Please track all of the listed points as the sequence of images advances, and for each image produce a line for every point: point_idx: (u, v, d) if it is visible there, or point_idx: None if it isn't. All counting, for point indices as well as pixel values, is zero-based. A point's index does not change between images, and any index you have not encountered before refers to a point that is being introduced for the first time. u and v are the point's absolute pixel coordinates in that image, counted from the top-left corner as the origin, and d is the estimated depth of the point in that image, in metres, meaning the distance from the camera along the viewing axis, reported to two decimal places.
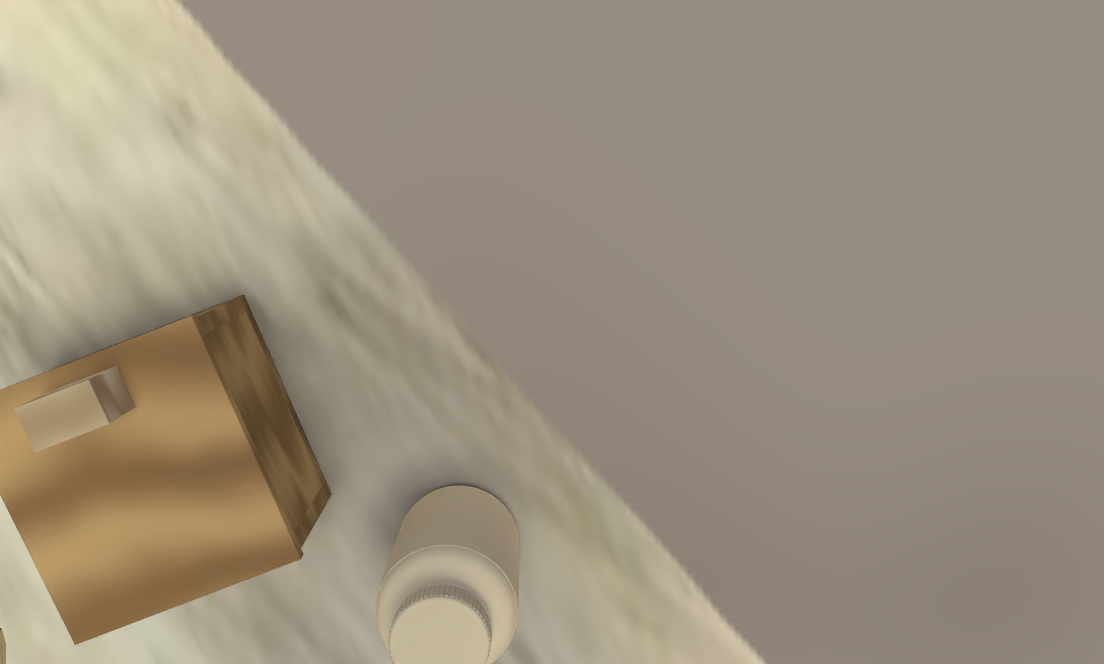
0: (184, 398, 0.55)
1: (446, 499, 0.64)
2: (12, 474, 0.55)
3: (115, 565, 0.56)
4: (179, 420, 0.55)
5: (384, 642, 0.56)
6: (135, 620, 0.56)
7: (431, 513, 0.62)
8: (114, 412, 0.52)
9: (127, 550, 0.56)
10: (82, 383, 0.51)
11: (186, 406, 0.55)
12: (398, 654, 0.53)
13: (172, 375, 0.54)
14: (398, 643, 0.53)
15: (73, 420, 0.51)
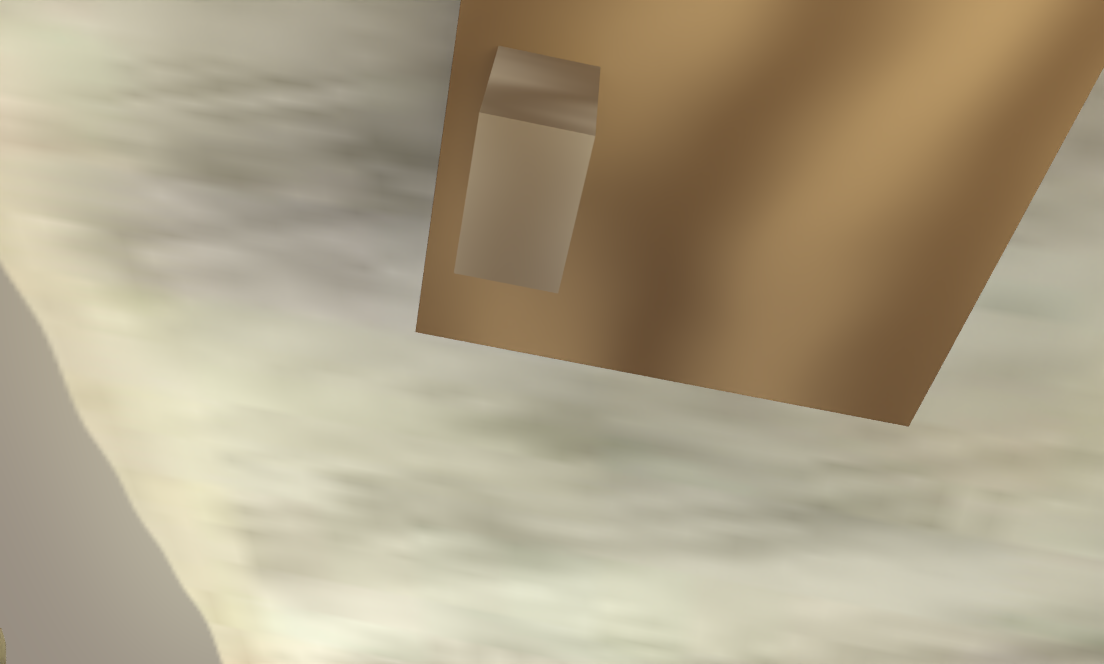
0: None
1: None
2: (576, 331, 0.28)
3: (844, 293, 0.27)
4: (685, 5, 0.23)
5: None
6: (959, 327, 0.27)
7: None
8: (580, 111, 0.22)
9: (838, 259, 0.26)
10: (480, 128, 0.21)
11: None
12: None
13: None
14: None
15: (543, 194, 0.22)
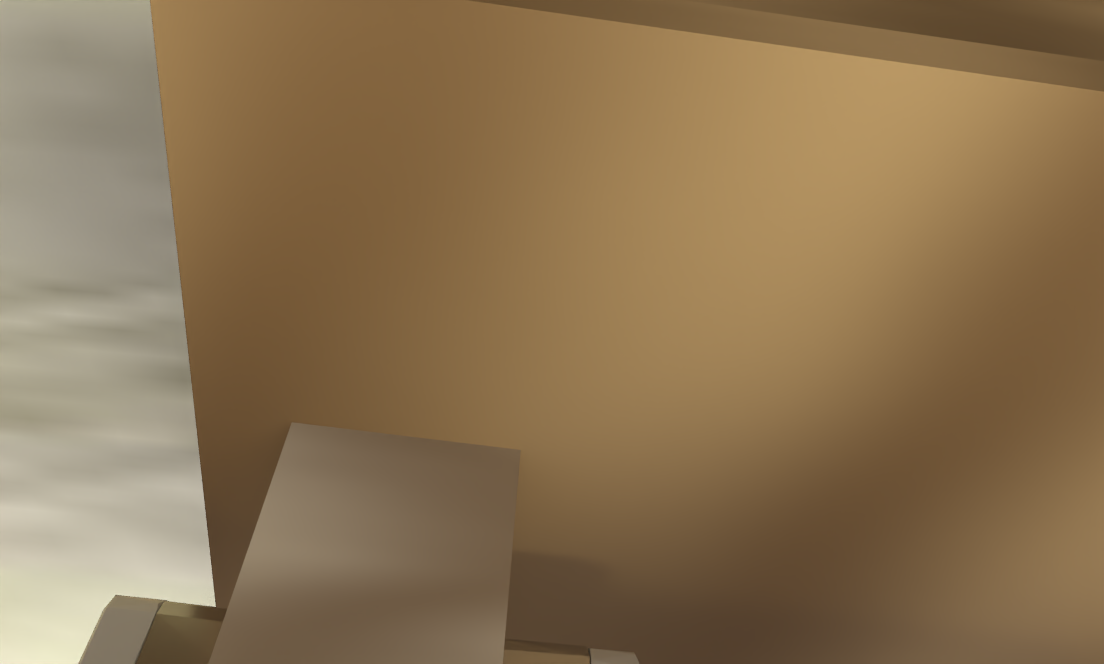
0: (609, 256, 0.09)
1: None
2: None
3: None
4: (700, 335, 0.10)
5: None
6: None
7: None
8: (462, 656, 0.09)
9: None
10: None
11: (657, 269, 0.09)
12: None
13: (456, 242, 0.09)
14: None
15: None
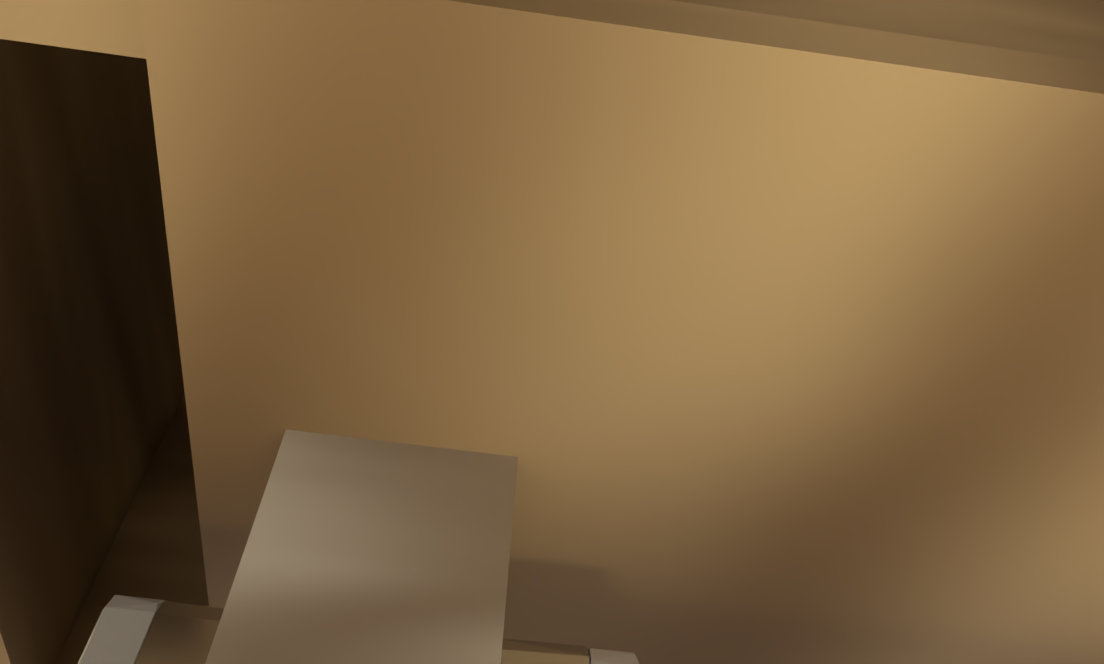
0: (607, 261, 0.09)
1: None
2: None
3: None
4: (700, 340, 0.10)
5: None
6: None
7: None
8: None
9: None
10: None
11: (655, 275, 0.09)
12: None
13: (452, 248, 0.09)
14: None
15: None
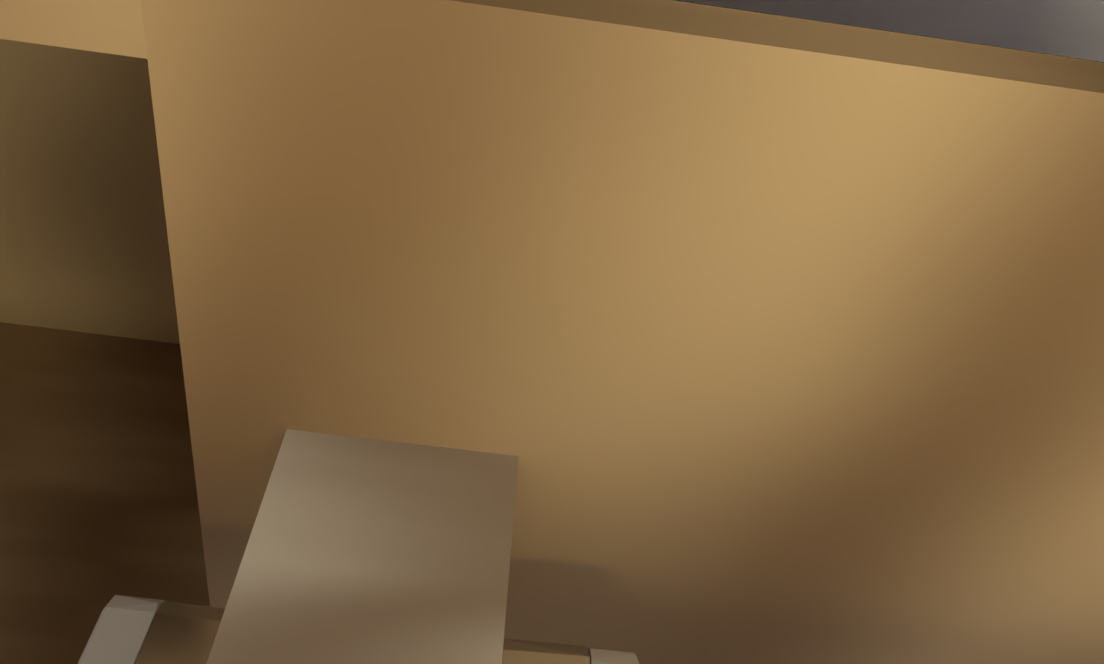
0: (607, 260, 0.09)
1: None
2: None
3: None
4: (700, 339, 0.10)
5: None
6: None
7: None
8: None
9: None
10: None
11: (655, 274, 0.09)
12: None
13: (453, 247, 0.09)
14: None
15: None
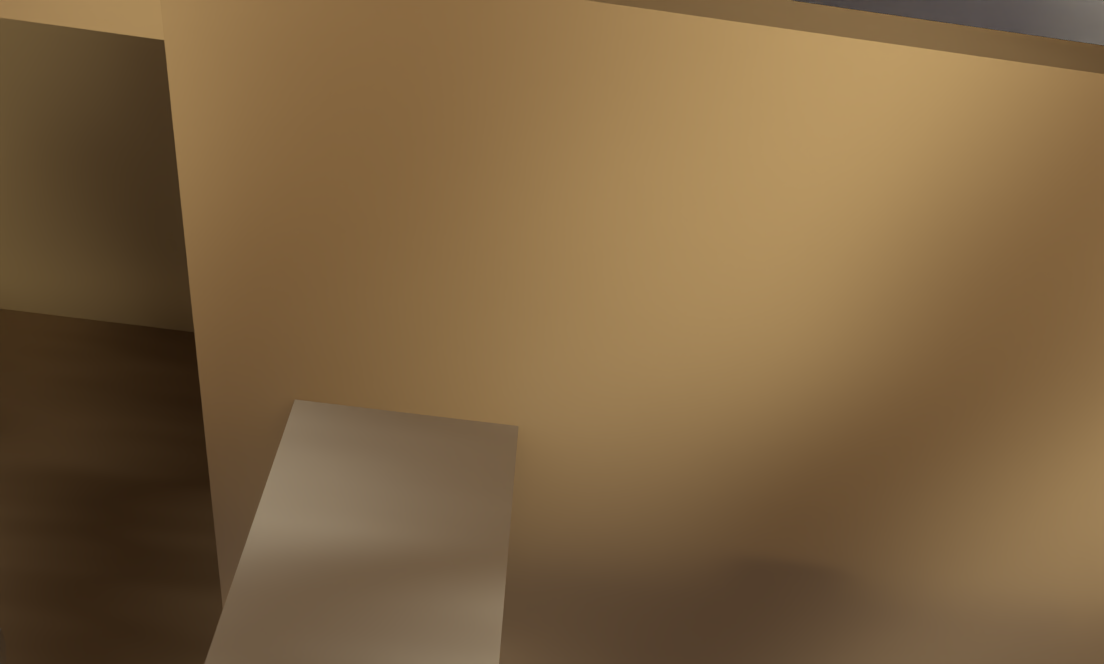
0: (603, 234, 0.10)
1: None
2: None
3: None
4: (693, 310, 0.10)
5: None
6: None
7: None
8: (462, 621, 0.09)
9: None
10: None
11: (650, 246, 0.10)
12: None
13: (456, 222, 0.10)
14: None
15: None
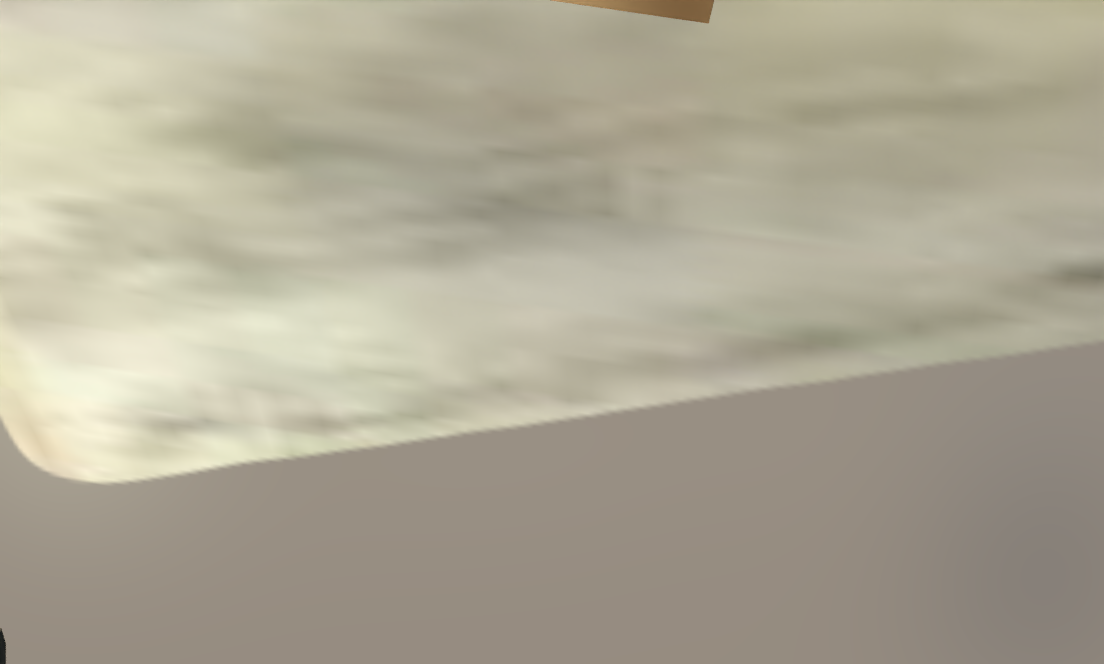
0: None
1: None
2: None
3: None
4: None
5: None
6: None
7: None
8: None
9: None
10: None
11: None
12: None
13: None
14: None
15: None
